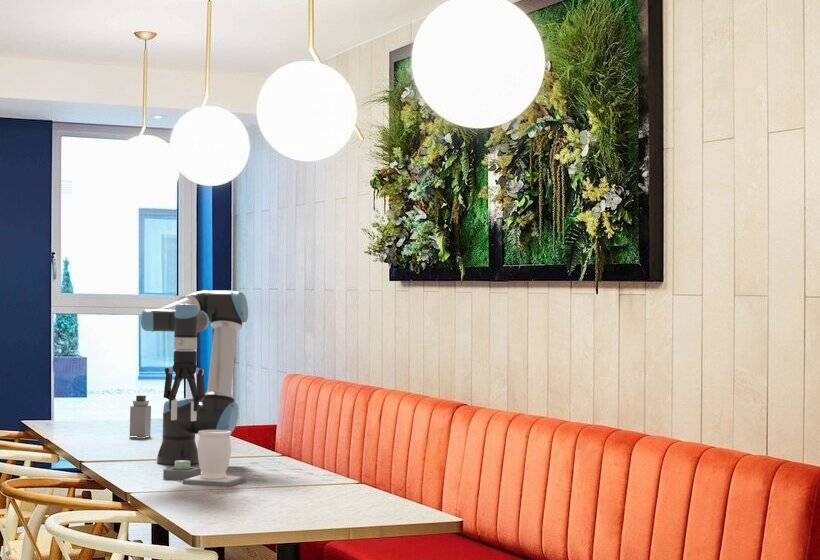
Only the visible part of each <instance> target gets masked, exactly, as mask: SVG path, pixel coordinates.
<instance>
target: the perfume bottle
mask: <svg viewBox="0 0 820 560" xmlns="http://www.w3.org/2000/svg"><path fill="white" fill-rule="evenodd" d="M146 398H147V395H141V394H140V395H139V394H138V395H136V396H135V399H136V400H132V406H130V409H129V410H130V411H129V412H130V413H129V437H130V436H137V437H146V436H150V437H151V430H152V429H151V426H152V425H151V423H152V421H151V420H152V419H151V418H152V406H151V405H149V403H150V400H147V399H146Z"/></svg>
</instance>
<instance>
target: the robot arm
mask: <svg viewBox="0 0 820 560" xmlns="http://www.w3.org/2000/svg"><path fill="white" fill-rule="evenodd" d="M248 306H249V305H248V299H247V296H246V294H244V293H243V292H242V291H240V290H232V289H231V290H209V289H207V290H206V289H205V290H199V291H194V292H191V293H189V294H185V295H184V296H180V297H179V298H178V299H177V300H176V301H174V302H172V303H170V304H168V305H165V306H163V307H160V308H157V309H154V308H151V309H150V308H149V309H144V310H143V311H142V313H141V314H140V315H141V316H140V326H141V329H142V330H143V331H145V332H173V334H174V336H173V339H174V340H173V349H174V351H173V365H172V366H171V367H165V368H164V374H165V382H164V388H163V390H164V391H163V398H164V399H167V400H166V401H164V404H163V410H162V411H163V412H162V441H161V445H160V446H159V447H160V448H159V449H158V450H159V451H158V453H157V457H156V462H157V464H160V465H172V466H173V465H174V466H175V461H178V460H188V461H190V465H194V464H199V459H198V445H197V443H196V434H197V435H199V434H198V431H201V430H228V431H231V433H233V431H234V430H235V428H236V426H237V423H238V419H239V405H238V403H237V402H235V397H234V396H233V395H232V384H233V373H234V365H235V355H236V346H237V339H238V331H240V330H241V329H242V327H243V324H244V323H246V322H247V321H248V320H249V307H248ZM209 324H210V326H211V328H212V329H213V335H212V337H213V338H212V343H211V344H212V345H211V355H210V363H209V364H210V365H209V370H208V371H209V372H208V381H207V390H206V392H205V373H206V369H205V368H199V367H198V365H197V362H198V360H197V359H198V353H197V351H196V350H197V349H198V333H200V332H203V331H205V330H206V329H208V327H209ZM174 373H175V375H174V378H173V374H174ZM195 373H196V376H197V378H196V376H195ZM173 379H174V380H173ZM183 379H185V380H187V383H188V385H189V390H190V392H191V395H192V396H191V397H184V398H176V397H177V394H178V391H179V388H180V385H181V383H182V381H183ZM196 379H197V383H196Z"/></svg>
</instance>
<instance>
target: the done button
mask: <svg viewBox="0 0 820 560" xmlns="http://www.w3.org/2000/svg"><path fill="white" fill-rule="evenodd" d="M174 467H175V470H185V471H187V470H190V467H191V464H190V461H188V460H178V461H175V465H174Z"/></svg>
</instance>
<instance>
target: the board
mask: <svg viewBox="0 0 820 560" xmlns="http://www.w3.org/2000/svg"><path fill="white" fill-rule="evenodd" d="M246 480H247V477H243V476H237V475H236V476H235V475H233V476H232V475H227V477H226V478H223V479H204V478H201V477H200V475H198V476H195V477H192V478H188V479H185V480H182V483H181V484H182V485H193V486H194V485H195V486H209V487H224V488H231V487H232V486H235V485H236V486H237V485H238V484H239V485H240V484H241V483H244V482H246Z"/></svg>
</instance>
